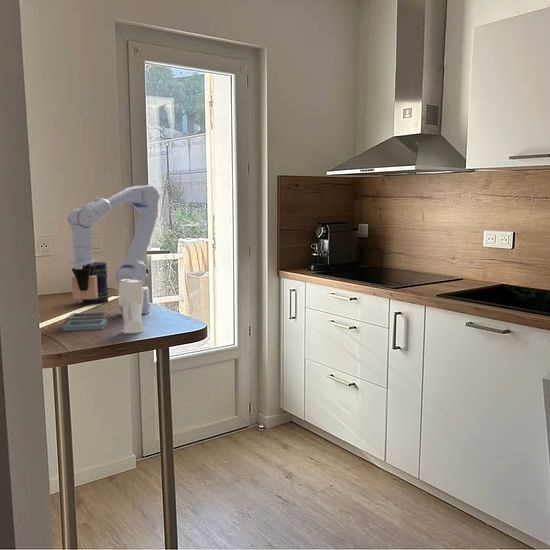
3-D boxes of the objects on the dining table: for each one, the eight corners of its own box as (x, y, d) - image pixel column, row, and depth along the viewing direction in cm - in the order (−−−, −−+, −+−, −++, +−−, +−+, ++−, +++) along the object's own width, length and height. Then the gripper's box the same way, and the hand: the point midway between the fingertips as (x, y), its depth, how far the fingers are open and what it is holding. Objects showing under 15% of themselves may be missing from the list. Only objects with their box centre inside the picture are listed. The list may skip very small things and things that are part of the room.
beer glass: (135, 327, 167) (132, 278, 165) (149, 330, 163) (147, 280, 161) (115, 332, 162) (112, 281, 160) (129, 335, 158) (127, 282, 156)
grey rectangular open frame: (108, 316, 186) (108, 311, 186) (103, 321, 178) (103, 316, 178) (72, 317, 184) (72, 313, 184) (66, 322, 177) (66, 317, 176)
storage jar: (101, 304, 208) (99, 265, 206) (76, 304, 210) (74, 265, 208) (113, 300, 218) (111, 262, 216) (89, 300, 219) (87, 262, 218)
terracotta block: (97, 297, 179) (96, 275, 178) (95, 298, 176) (94, 276, 175) (75, 297, 178) (74, 276, 178) (72, 299, 175) (71, 277, 174)
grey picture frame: (107, 323, 174) (107, 319, 173) (102, 329, 166) (102, 324, 166) (69, 325, 172) (69, 320, 172) (62, 331, 164) (62, 326, 164)
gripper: (75, 245, 182) (77, 286, 183) (63, 248, 167) (66, 293, 169) (97, 245, 182) (99, 286, 184) (87, 248, 168) (89, 292, 170)
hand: (85, 289), depth 177 cm, fingers closed on terracotta block, 3 cm apart
